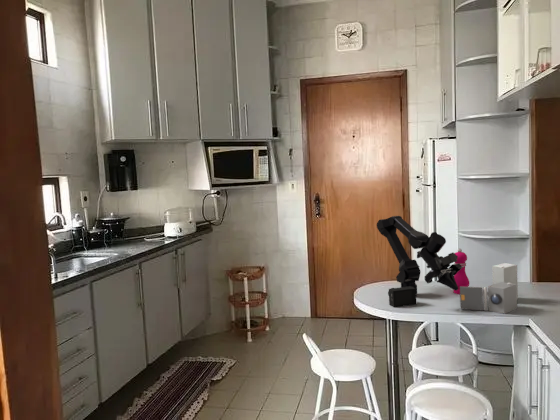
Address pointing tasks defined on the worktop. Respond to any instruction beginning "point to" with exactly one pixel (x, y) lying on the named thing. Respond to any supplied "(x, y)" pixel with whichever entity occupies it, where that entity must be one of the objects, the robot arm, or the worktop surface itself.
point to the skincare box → (505, 274)
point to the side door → (473, 298)
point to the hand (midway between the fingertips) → (457, 289)
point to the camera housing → (502, 297)
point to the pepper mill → (461, 271)
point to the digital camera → (402, 296)
